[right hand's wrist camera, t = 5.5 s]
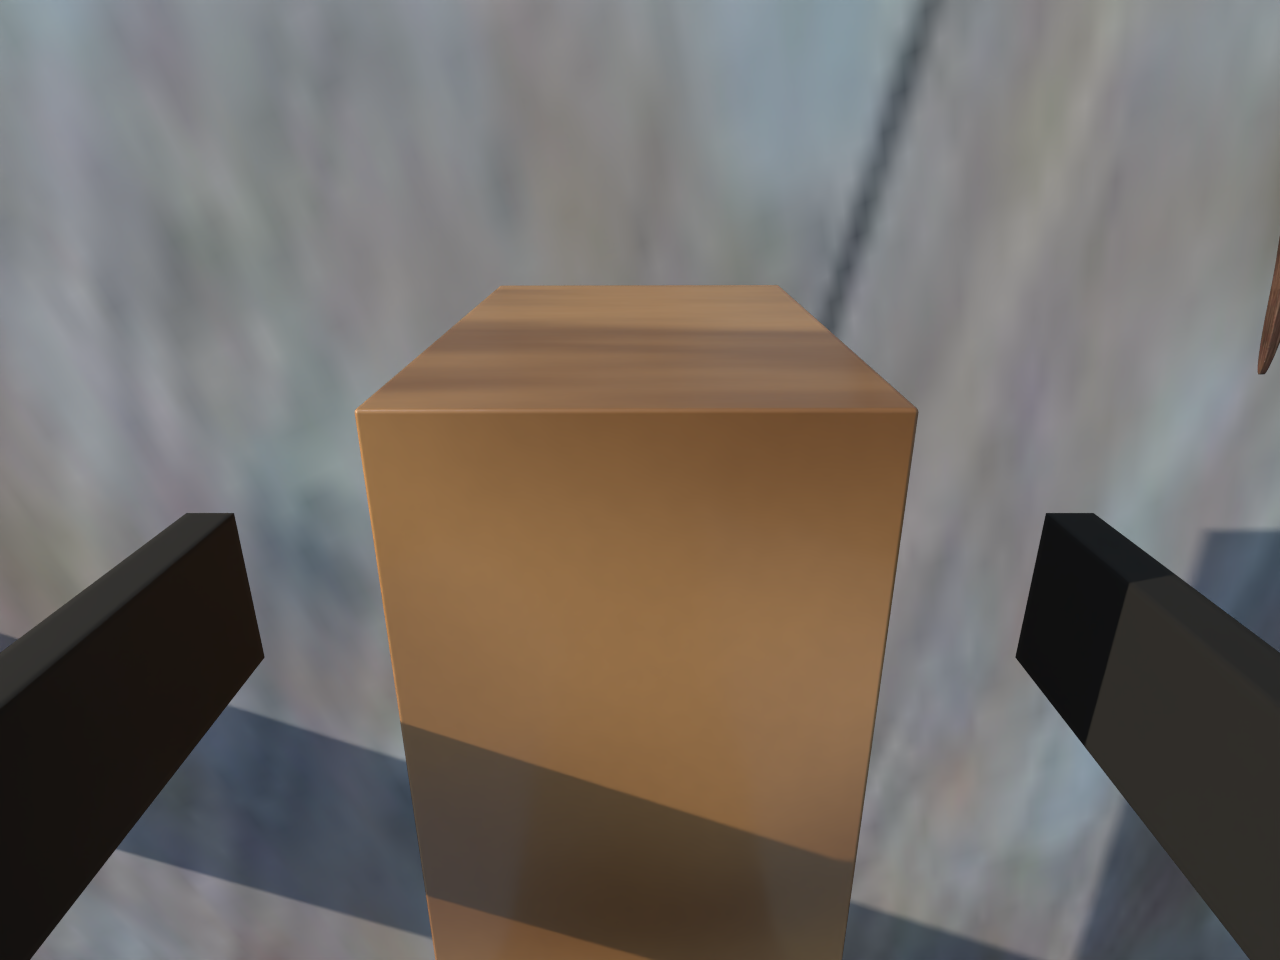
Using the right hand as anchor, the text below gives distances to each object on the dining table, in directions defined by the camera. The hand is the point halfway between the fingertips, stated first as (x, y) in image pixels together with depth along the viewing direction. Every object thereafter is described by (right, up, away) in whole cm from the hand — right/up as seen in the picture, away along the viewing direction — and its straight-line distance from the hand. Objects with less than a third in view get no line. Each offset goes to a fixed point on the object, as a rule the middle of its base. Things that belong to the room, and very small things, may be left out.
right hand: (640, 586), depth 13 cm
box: (0, -4, +8) cm, 9 cm away
